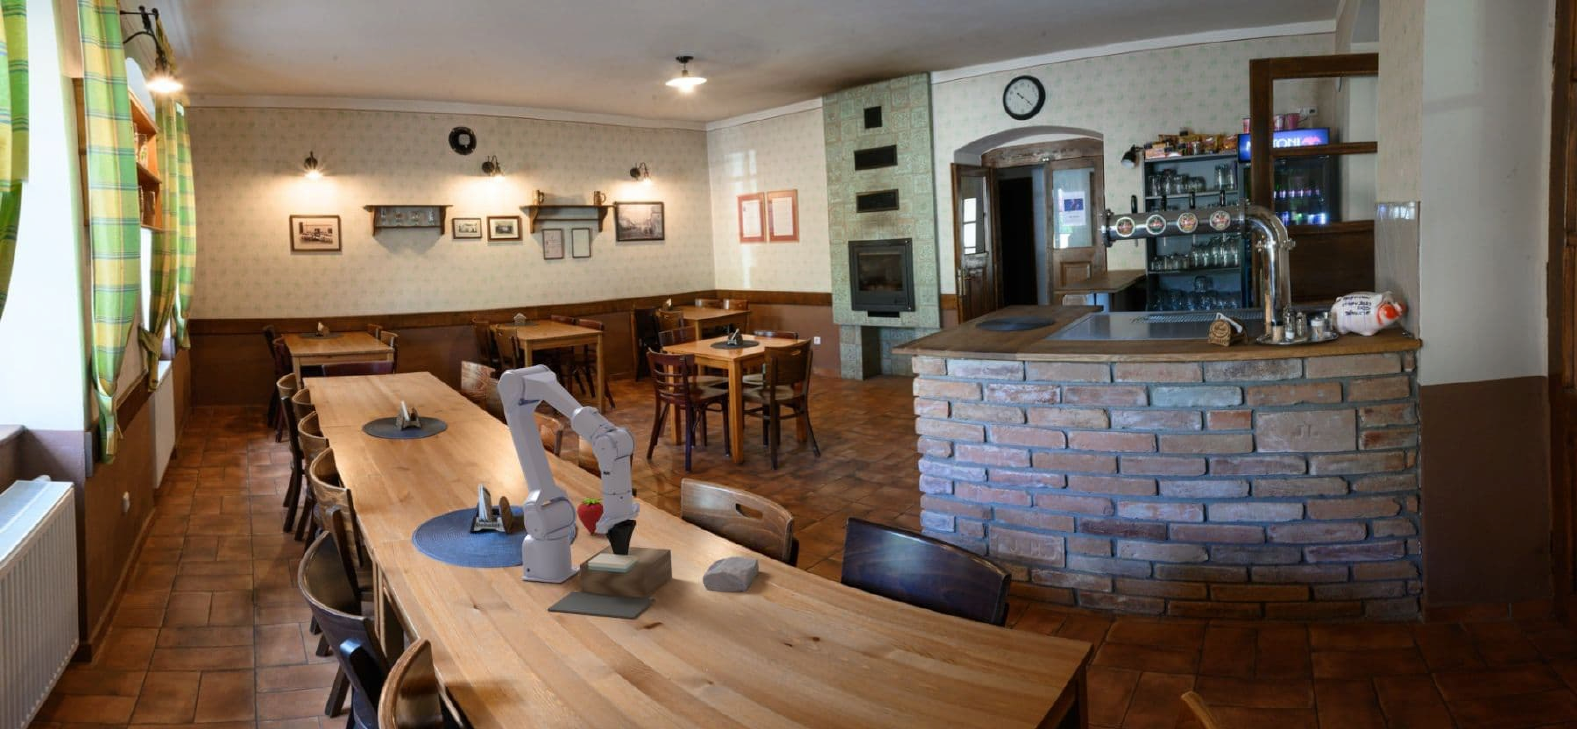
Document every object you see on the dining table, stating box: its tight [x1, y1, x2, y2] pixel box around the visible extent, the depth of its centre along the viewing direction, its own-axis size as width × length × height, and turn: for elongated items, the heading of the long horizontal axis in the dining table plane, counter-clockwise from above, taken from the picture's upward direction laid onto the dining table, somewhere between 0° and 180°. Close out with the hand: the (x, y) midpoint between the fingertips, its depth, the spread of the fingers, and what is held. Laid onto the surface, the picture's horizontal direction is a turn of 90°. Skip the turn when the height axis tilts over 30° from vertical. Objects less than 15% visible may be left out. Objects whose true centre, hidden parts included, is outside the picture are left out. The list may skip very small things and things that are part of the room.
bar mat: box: [547, 590, 656, 620], centre depth 174 cm, size 18×9×1 cm, turn 72°
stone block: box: [702, 556, 760, 592], centre depth 185 cm, size 12×5×10 cm
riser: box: [579, 544, 673, 598], centre depth 184 cm, size 14×12×6 cm
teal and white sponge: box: [588, 553, 638, 572], centre depth 178 cm, size 8×5×2 cm, turn 73°
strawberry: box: [576, 492, 604, 534], centre depth 219 cm, size 6×8×10 cm
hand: (621, 557), depth 181 cm, fingers closed
